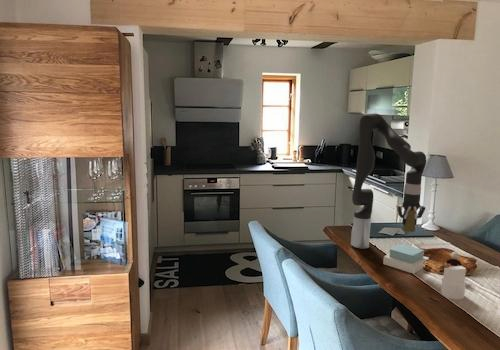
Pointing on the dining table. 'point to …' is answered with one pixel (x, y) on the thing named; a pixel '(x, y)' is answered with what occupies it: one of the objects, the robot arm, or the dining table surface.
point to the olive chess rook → (410, 221)
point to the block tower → (405, 258)
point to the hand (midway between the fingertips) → (409, 225)
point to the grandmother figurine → (453, 260)
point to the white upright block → (453, 282)
